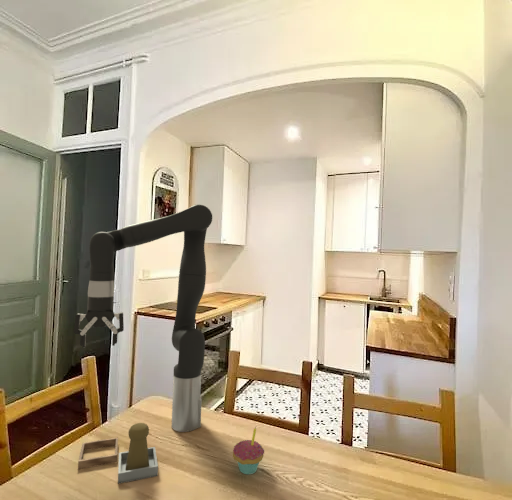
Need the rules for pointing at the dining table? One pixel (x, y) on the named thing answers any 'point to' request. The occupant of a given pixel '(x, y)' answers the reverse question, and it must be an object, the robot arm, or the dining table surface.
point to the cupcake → (248, 455)
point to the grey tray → (137, 473)
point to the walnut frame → (98, 460)
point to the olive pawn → (138, 447)
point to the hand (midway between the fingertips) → (98, 346)
